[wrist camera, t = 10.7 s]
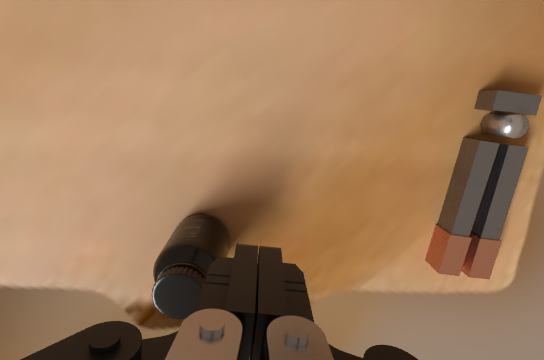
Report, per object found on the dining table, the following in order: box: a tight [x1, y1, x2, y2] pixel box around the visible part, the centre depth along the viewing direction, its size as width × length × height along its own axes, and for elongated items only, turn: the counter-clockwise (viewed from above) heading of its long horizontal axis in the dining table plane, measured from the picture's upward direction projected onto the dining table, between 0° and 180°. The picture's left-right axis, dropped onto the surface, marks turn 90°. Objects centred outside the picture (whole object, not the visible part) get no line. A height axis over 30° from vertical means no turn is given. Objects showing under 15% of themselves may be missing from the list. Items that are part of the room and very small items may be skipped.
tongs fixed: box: [461, 90, 542, 279], centre depth 37 cm, size 21×5×4 cm, turn 173°
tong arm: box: [425, 137, 499, 276], centre depth 38 cm, size 16×3×3 cm, turn 171°
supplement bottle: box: [152, 214, 229, 319], centre depth 34 cm, size 7×7×12 cm
